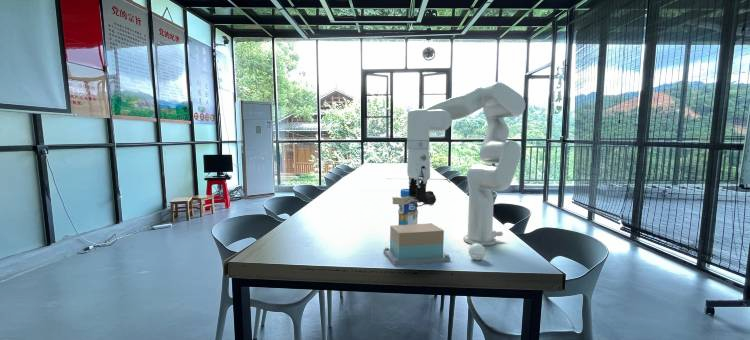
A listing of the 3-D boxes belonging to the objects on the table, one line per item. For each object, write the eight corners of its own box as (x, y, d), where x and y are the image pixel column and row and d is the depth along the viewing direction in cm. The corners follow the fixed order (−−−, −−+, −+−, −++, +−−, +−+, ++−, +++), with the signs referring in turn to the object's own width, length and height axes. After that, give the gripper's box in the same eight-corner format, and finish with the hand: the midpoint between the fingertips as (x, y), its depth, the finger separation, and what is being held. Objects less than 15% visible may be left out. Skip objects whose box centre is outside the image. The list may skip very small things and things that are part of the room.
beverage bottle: (398, 232, 144) (399, 188, 142) (417, 233, 143) (418, 188, 141) (397, 238, 135) (397, 190, 134) (417, 239, 134) (418, 191, 132)
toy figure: (393, 208, 109) (438, 206, 109) (392, 189, 110) (437, 187, 109) (392, 206, 116) (434, 204, 116) (391, 189, 117) (433, 187, 117)
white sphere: (465, 259, 111) (466, 243, 110) (472, 255, 115) (472, 240, 115) (487, 265, 106) (488, 248, 106) (493, 260, 110) (494, 244, 110)
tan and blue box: (434, 248, 123) (434, 222, 122) (450, 260, 110) (451, 231, 109) (383, 252, 118) (383, 225, 117) (394, 265, 105) (394, 235, 104)
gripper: (439, 146, 103) (437, 201, 105) (418, 145, 120) (417, 193, 121) (417, 146, 101) (416, 202, 103) (399, 145, 118) (398, 194, 119)
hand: (417, 197), depth 112 cm, fingers closed on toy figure, 6 cm apart
